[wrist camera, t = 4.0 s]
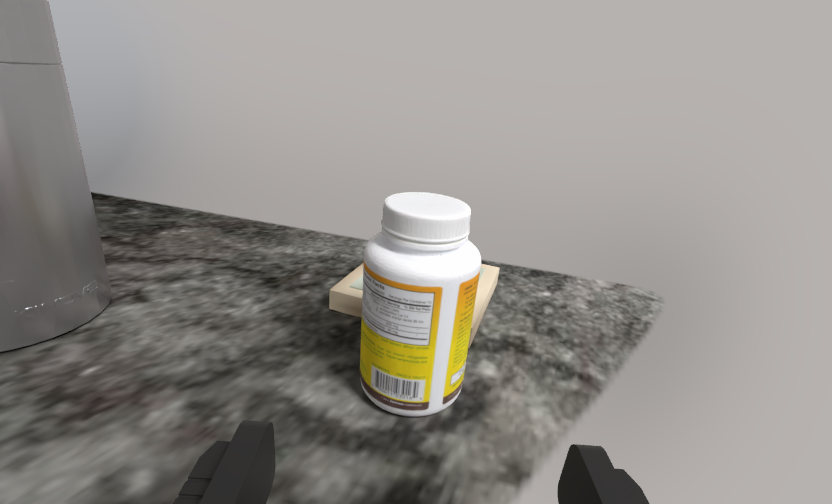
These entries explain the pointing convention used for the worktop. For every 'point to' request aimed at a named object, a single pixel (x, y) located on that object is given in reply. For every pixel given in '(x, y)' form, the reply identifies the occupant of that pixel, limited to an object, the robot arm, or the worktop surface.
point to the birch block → (351, 291)
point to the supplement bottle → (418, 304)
